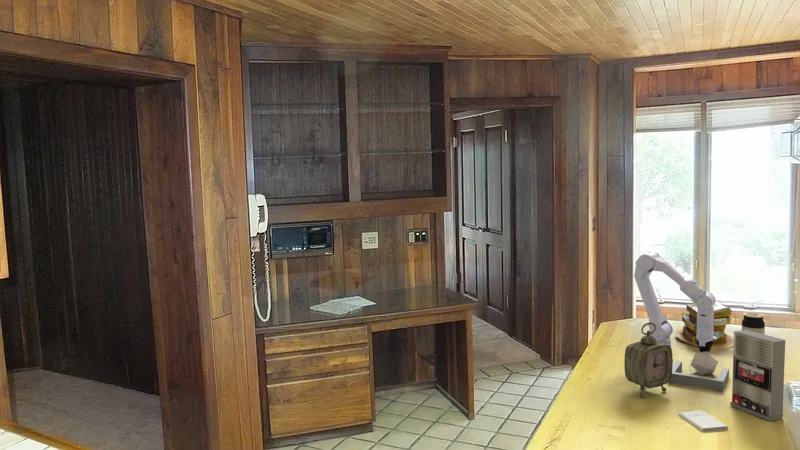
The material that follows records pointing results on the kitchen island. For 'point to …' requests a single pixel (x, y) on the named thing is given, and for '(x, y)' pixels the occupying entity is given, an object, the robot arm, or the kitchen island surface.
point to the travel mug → (753, 322)
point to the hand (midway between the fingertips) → (704, 359)
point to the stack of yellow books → (720, 321)
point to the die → (704, 363)
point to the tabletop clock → (648, 362)
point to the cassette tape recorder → (758, 374)
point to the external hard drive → (703, 421)
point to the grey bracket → (699, 378)
